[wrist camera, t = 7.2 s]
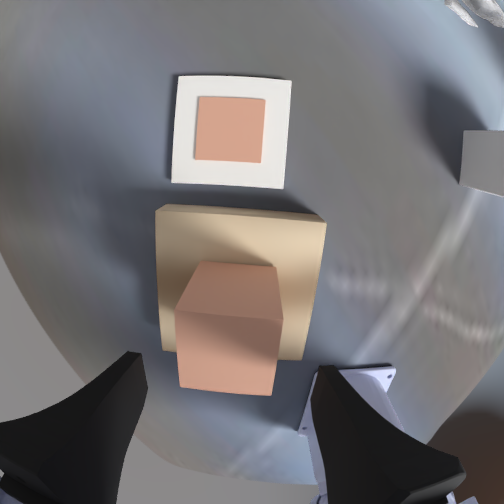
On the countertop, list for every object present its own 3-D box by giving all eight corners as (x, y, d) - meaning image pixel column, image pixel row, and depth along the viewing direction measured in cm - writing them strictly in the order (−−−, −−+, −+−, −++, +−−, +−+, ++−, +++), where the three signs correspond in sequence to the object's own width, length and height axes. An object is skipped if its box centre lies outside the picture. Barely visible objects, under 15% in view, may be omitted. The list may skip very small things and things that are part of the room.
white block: (491, 194, 18) (539, 209, 13) (458, 184, 18) (510, 198, 13) (496, 144, 17) (544, 150, 11) (463, 130, 17) (515, 131, 11)
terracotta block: (268, 330, 19) (271, 395, 13) (200, 324, 19) (179, 386, 13) (276, 266, 17) (283, 319, 12) (200, 260, 17) (174, 309, 12)
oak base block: (295, 337, 23) (301, 360, 20) (171, 328, 22) (162, 350, 20) (315, 213, 20) (326, 223, 17) (168, 202, 19) (155, 210, 16)
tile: (282, 188, 18) (283, 189, 18) (173, 182, 18) (170, 183, 17) (290, 83, 16) (291, 80, 15) (181, 78, 16) (178, 75, 15)
